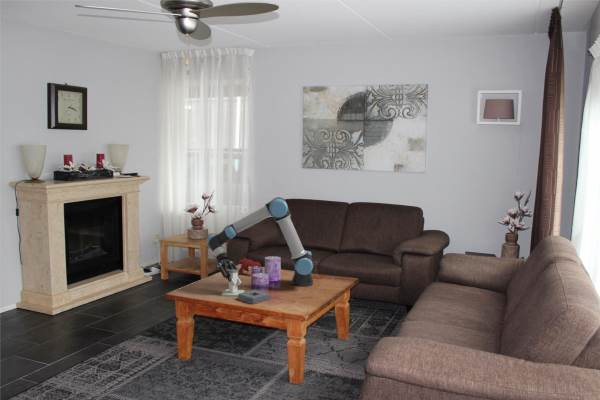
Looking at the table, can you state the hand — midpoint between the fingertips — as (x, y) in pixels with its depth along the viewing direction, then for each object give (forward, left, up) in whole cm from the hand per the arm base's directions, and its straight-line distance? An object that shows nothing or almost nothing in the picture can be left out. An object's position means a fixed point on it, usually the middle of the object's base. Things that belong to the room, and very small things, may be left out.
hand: (237, 284), depth 338 cm
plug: (+3, -2, -5) cm, 7 cm away
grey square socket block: (-13, +8, -7) cm, 16 cm away
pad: (+3, -2, -7) cm, 8 cm away
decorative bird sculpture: (+7, -56, -7) cm, 57 cm away
